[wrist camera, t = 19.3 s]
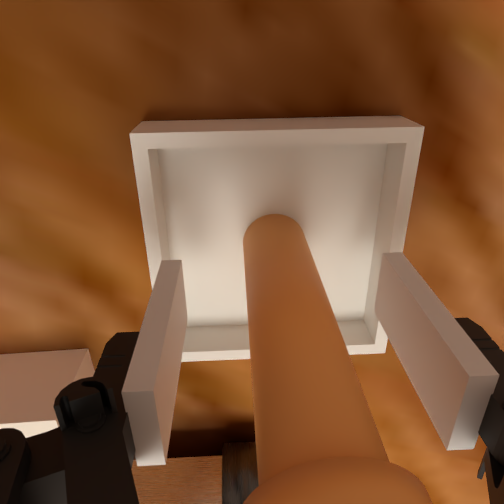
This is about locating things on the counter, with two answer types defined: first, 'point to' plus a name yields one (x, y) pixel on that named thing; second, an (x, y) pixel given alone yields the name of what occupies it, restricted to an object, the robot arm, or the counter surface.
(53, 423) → the off-white matte cube
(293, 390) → the pin
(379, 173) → the tray
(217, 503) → the trolley
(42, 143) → the counter surface
